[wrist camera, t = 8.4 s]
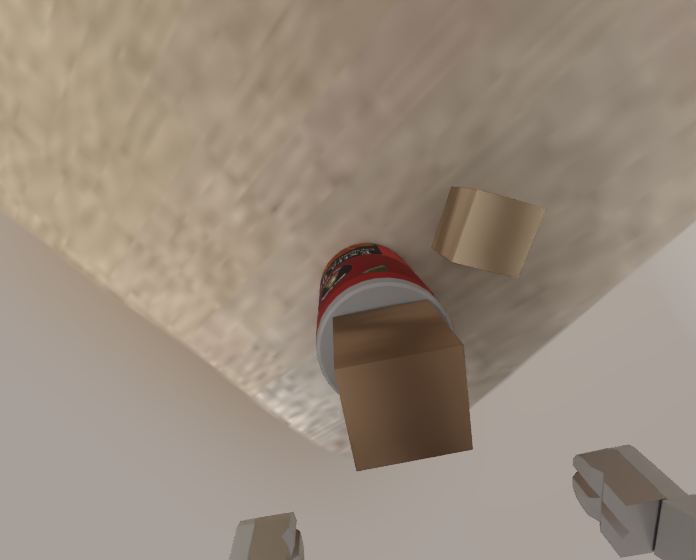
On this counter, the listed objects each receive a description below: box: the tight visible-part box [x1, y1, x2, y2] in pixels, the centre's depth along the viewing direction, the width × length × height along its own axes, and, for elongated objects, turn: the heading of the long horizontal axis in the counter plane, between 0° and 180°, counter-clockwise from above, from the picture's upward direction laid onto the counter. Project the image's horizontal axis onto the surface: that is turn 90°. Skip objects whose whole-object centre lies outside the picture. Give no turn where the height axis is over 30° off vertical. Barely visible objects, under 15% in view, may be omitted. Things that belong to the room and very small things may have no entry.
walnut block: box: [333, 300, 473, 471], centre depth 16 cm, size 5×5×5 cm
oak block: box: [432, 187, 546, 278], centre depth 26 cm, size 5×5×5 cm
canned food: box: [316, 244, 455, 395], centre depth 24 cm, size 8×8×11 cm
